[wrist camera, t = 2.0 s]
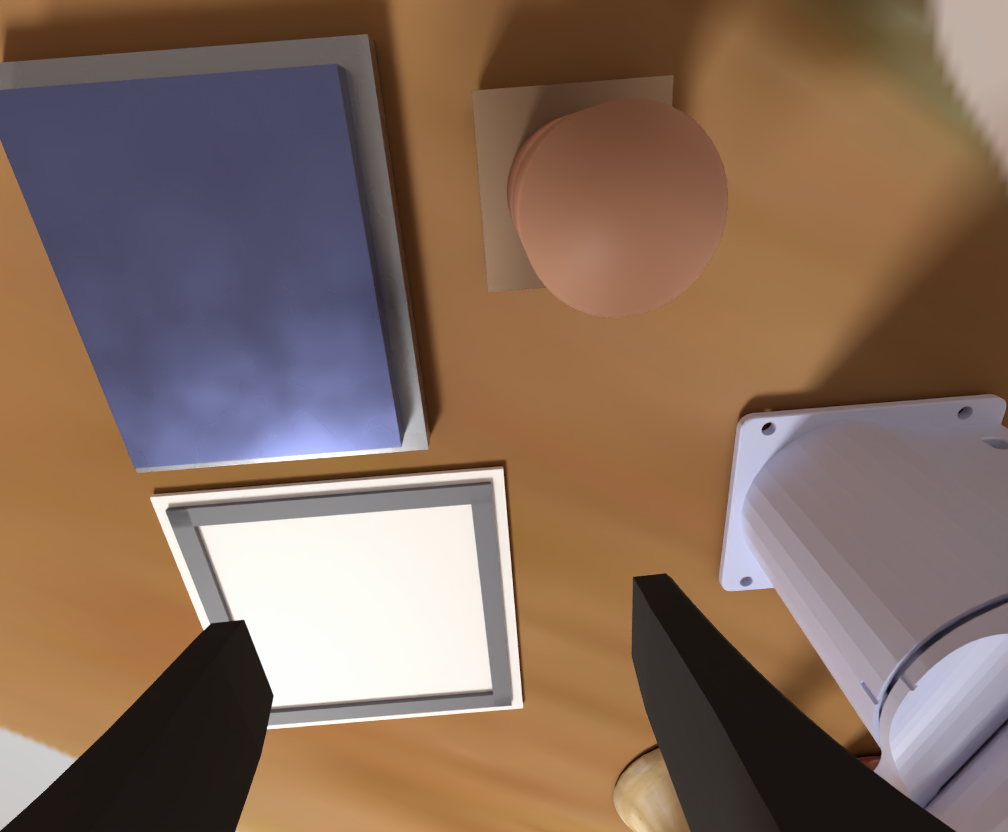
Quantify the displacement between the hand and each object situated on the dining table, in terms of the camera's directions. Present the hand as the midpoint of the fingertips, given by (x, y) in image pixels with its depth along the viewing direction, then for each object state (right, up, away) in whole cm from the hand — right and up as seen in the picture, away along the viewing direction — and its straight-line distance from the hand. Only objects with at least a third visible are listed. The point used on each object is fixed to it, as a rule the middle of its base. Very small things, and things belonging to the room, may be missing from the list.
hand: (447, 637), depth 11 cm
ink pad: (-7, +8, +7) cm, 13 cm away
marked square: (-5, -4, +13) cm, 15 cm away
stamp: (+3, +11, +6) cm, 13 cm away
